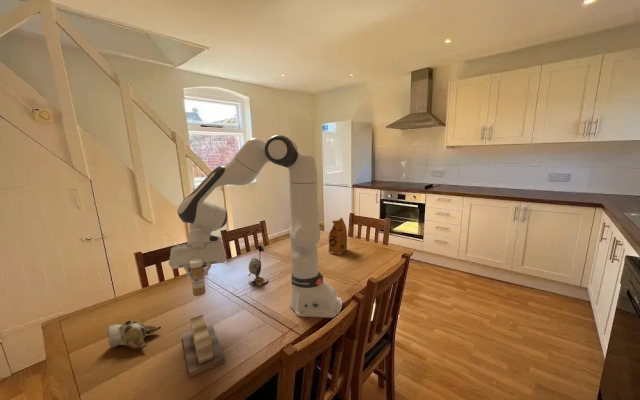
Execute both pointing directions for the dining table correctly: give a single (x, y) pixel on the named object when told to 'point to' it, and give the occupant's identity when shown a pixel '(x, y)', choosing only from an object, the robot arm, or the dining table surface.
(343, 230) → the coffee package
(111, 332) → the ceramic sculpture
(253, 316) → the dining table surface
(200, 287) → the sprinkles bottle
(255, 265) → the bird figurine
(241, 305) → the dining table surface
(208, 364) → the ridge stand
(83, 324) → the dining table surface
